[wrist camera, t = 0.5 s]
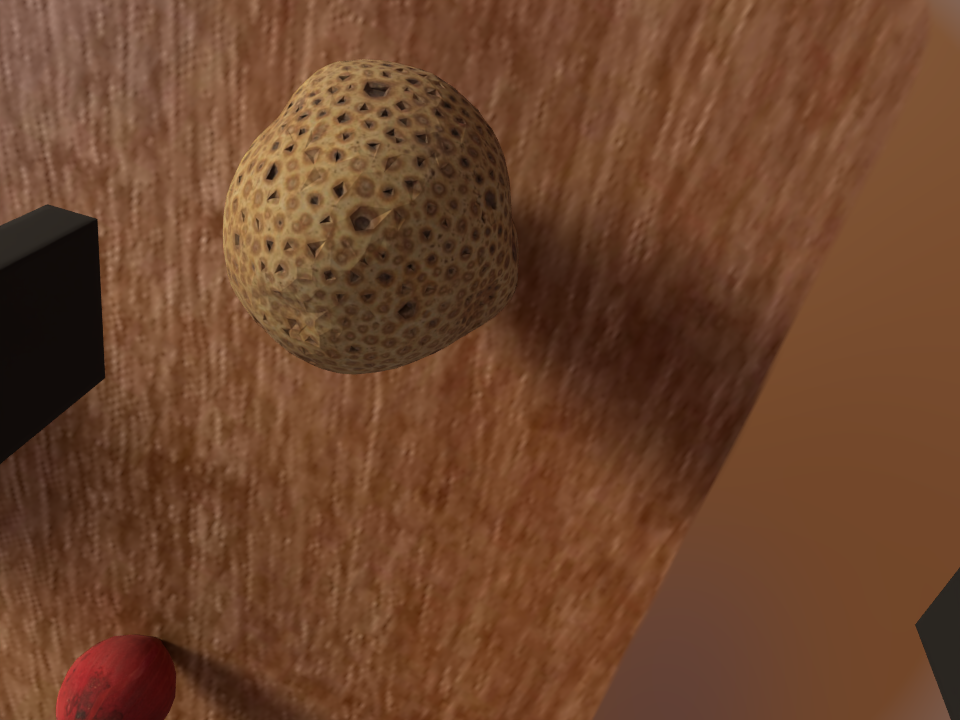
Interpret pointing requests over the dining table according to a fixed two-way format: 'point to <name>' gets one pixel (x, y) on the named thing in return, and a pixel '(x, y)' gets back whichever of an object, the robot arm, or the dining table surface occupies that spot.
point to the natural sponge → (372, 220)
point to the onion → (119, 681)
